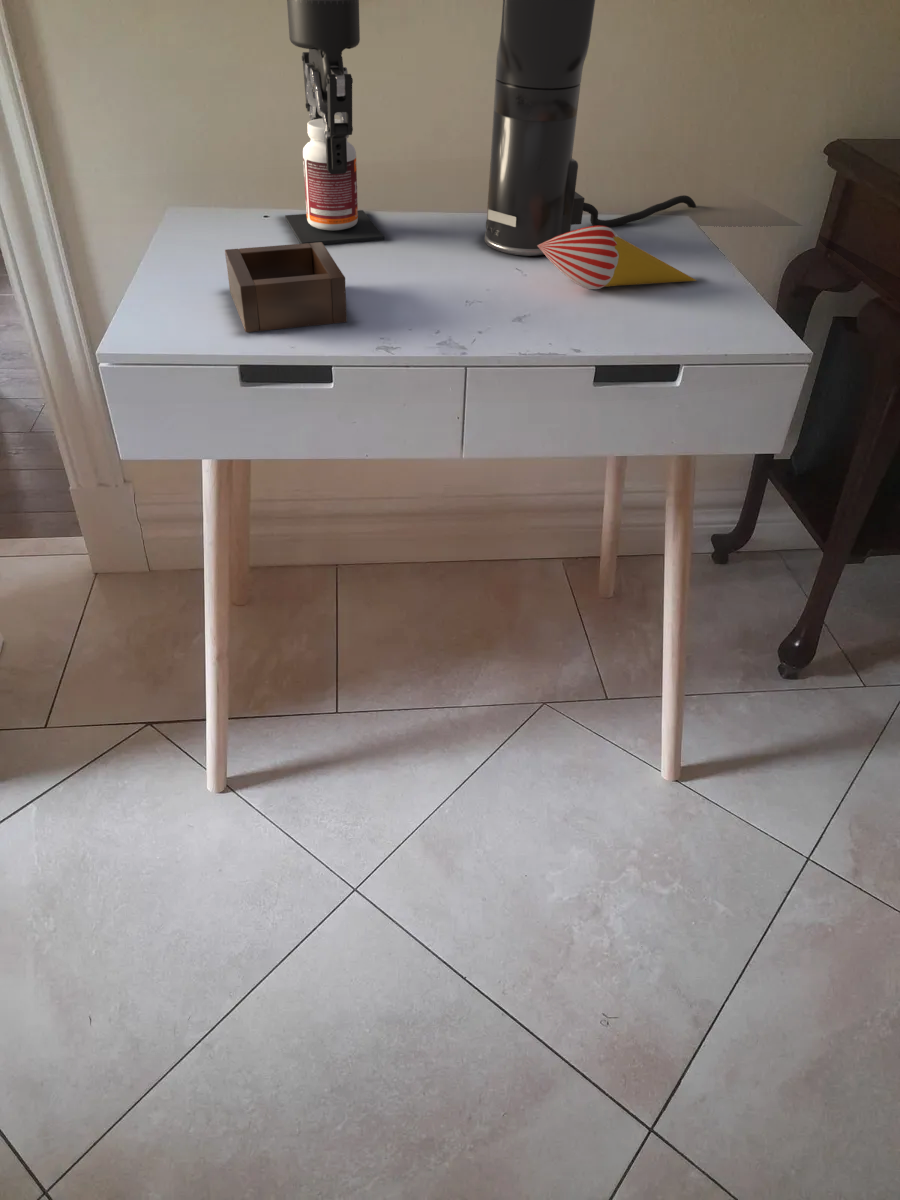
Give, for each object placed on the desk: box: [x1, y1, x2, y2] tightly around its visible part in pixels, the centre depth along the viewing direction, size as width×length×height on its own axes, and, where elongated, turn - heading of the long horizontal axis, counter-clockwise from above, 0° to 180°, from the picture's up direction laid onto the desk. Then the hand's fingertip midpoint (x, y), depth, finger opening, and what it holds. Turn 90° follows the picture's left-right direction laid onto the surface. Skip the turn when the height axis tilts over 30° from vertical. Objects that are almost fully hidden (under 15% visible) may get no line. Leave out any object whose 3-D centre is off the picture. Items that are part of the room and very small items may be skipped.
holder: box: [224, 242, 348, 333], centre depth 89 cm, size 10×10×4 cm
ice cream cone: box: [537, 225, 698, 290], centre depth 96 cm, size 6×6×20 cm
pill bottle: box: [302, 118, 359, 231], centre depth 104 cm, size 6×6×11 cm
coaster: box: [284, 209, 385, 245], centre depth 108 cm, size 10×10×1 cm
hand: (330, 164), depth 103 cm, fingers closed on pill bottle, 6 cm apart
